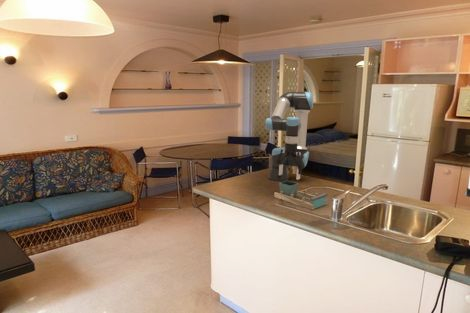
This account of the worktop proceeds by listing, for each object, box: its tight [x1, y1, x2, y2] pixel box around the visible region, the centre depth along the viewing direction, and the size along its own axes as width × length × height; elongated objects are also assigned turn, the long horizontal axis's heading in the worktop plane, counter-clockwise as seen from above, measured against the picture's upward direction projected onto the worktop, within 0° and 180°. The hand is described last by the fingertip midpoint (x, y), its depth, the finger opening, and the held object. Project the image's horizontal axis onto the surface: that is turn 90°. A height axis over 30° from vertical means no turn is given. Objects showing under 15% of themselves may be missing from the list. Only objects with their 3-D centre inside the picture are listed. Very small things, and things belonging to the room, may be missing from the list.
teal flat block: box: [309, 192, 329, 210], centre depth 193 cm, size 15×2×6 cm, turn 133°
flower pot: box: [278, 180, 299, 197], centre depth 209 cm, size 9×9×9 cm
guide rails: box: [273, 189, 328, 210], centre depth 203 cm, size 15×28×5 cm, turn 43°
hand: (289, 177), depth 207 cm, fingers open, 13 cm apart
